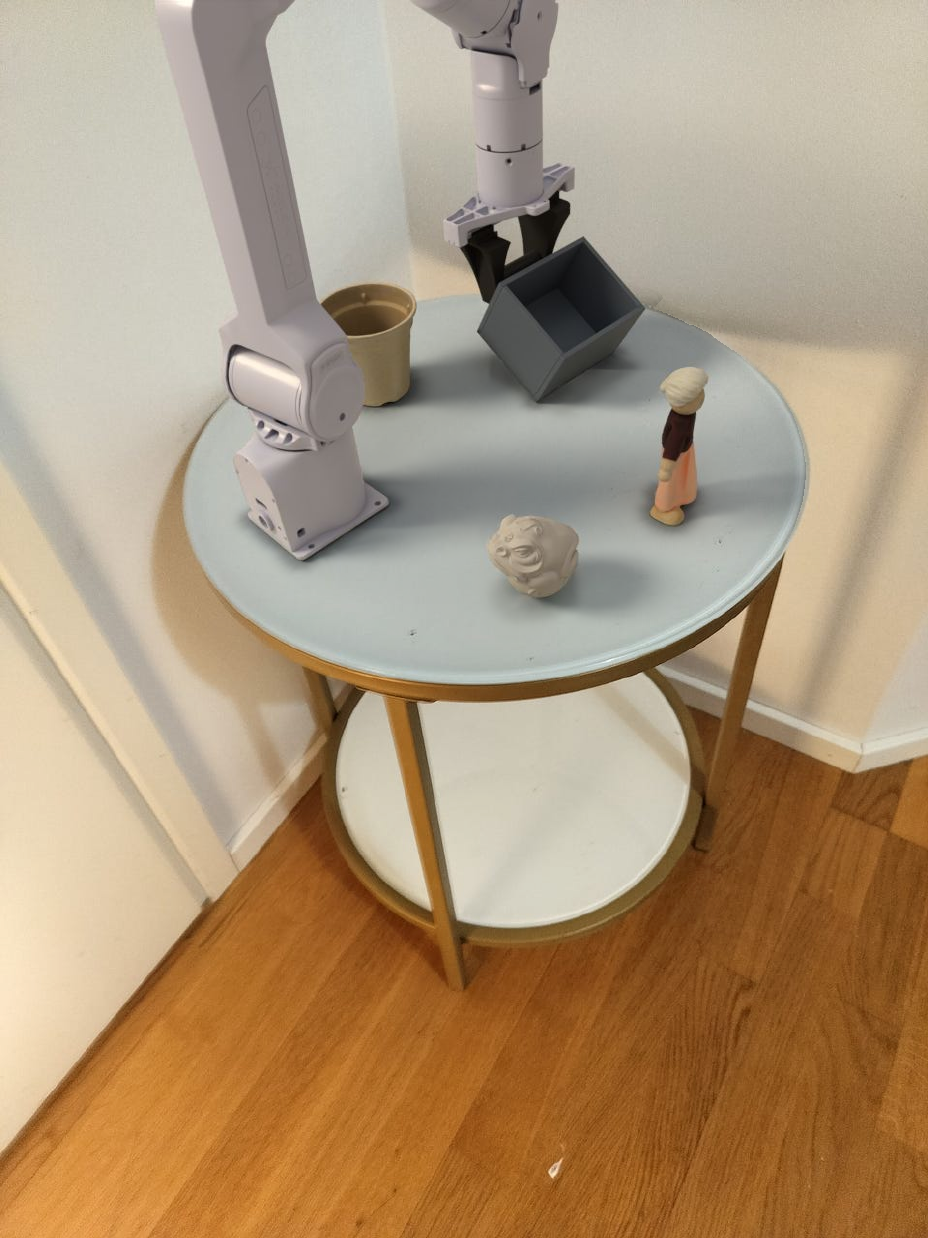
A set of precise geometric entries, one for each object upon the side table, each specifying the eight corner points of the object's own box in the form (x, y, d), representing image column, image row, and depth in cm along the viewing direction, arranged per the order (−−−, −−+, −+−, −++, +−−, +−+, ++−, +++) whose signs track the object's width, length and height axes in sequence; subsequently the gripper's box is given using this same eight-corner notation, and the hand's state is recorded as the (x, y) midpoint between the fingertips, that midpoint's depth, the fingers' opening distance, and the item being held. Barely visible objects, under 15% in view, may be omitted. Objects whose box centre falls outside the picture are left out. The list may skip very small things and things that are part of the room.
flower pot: (424, 415, 81) (413, 333, 75) (325, 420, 82) (306, 339, 76) (428, 359, 88) (419, 278, 81) (337, 364, 88) (320, 284, 82)
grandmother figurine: (695, 535, 68) (719, 401, 59) (646, 533, 69) (661, 399, 60) (694, 472, 73) (716, 339, 64) (648, 470, 74) (663, 338, 64)
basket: (536, 403, 81) (564, 360, 75) (458, 310, 82) (479, 259, 76) (613, 352, 86) (646, 308, 79) (538, 265, 87) (564, 213, 80)
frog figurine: (478, 575, 67) (471, 509, 62) (559, 548, 69) (560, 480, 63) (508, 630, 64) (504, 564, 58) (594, 600, 65) (598, 532, 60)
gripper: (479, 181, 68) (488, 336, 78) (602, 121, 74) (596, 273, 84) (420, 159, 72) (437, 310, 82) (542, 104, 77) (543, 251, 88)
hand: (514, 290), depth 83 cm, fingers closed on basket, 5 cm apart
